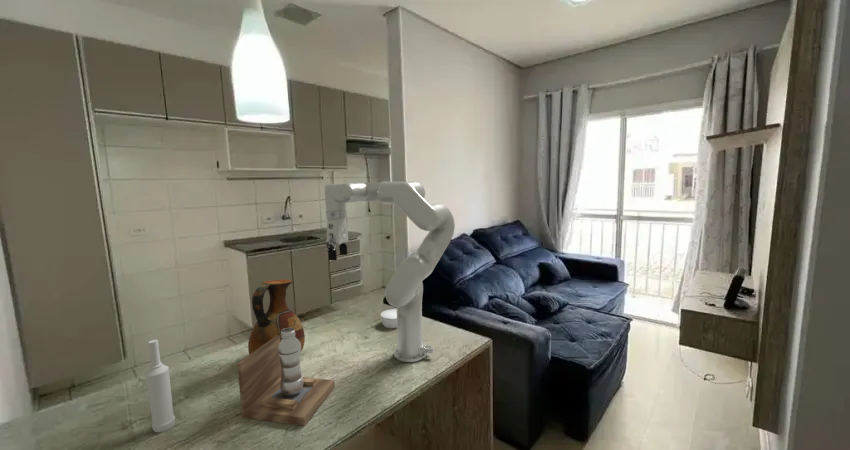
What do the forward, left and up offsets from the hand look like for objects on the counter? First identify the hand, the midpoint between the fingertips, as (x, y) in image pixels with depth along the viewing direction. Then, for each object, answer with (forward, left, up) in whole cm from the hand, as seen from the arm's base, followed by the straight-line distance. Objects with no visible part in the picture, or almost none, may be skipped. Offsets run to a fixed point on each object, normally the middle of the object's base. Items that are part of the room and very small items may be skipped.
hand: (338, 257), depth 139 cm
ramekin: (-15, -21, -37) cm, 45 cm away
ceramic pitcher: (+20, +15, -37) cm, 44 cm away
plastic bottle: (-2, +39, -34) cm, 51 cm away
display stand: (-1, +39, -36) cm, 53 cm away
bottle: (+28, +55, -36) cm, 72 cm away
